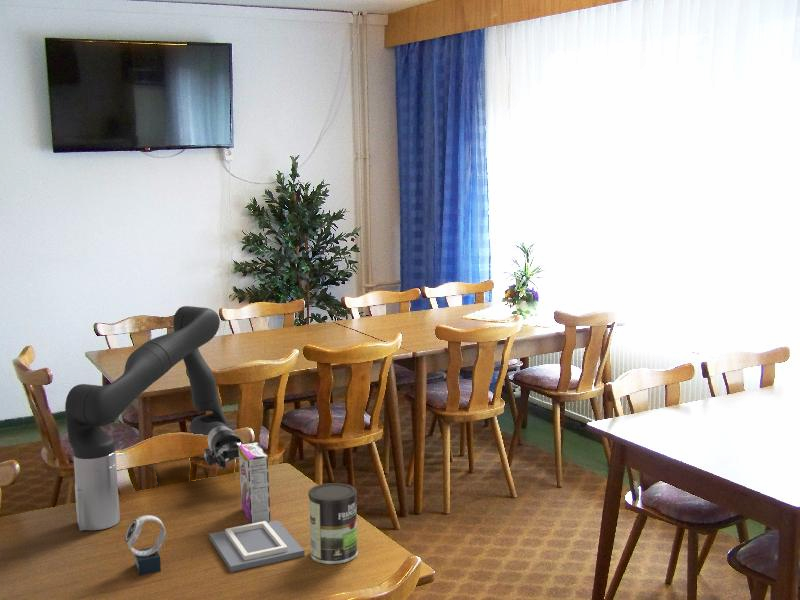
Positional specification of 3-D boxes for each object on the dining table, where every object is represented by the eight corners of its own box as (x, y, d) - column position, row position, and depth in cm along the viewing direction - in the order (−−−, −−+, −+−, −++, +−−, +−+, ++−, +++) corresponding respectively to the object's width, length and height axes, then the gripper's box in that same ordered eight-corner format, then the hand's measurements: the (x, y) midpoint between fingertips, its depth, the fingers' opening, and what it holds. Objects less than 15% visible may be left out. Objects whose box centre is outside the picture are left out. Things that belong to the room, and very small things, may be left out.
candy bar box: (240, 508, 206) (237, 444, 203) (260, 505, 208) (257, 441, 205) (250, 526, 195) (247, 458, 193) (271, 522, 197) (268, 455, 195)
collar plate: (231, 571, 173) (230, 561, 172) (209, 538, 189) (209, 529, 188) (304, 555, 180) (304, 545, 179) (277, 525, 196) (277, 516, 195)
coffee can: (367, 550, 182) (366, 487, 180) (339, 569, 174) (337, 503, 172) (329, 539, 188) (327, 479, 186) (300, 557, 179) (298, 494, 177)
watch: (125, 566, 176) (122, 516, 174) (164, 558, 179) (161, 509, 178) (129, 577, 171) (126, 526, 169) (169, 569, 174) (166, 519, 173)
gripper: (196, 433, 221) (212, 451, 207) (249, 425, 227) (267, 442, 213) (198, 460, 222) (213, 480, 208) (250, 452, 228) (269, 470, 214)
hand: (241, 461), depth 210 cm, fingers open, 8 cm apart
